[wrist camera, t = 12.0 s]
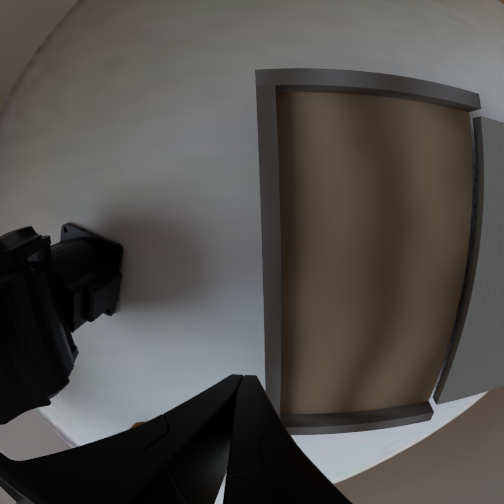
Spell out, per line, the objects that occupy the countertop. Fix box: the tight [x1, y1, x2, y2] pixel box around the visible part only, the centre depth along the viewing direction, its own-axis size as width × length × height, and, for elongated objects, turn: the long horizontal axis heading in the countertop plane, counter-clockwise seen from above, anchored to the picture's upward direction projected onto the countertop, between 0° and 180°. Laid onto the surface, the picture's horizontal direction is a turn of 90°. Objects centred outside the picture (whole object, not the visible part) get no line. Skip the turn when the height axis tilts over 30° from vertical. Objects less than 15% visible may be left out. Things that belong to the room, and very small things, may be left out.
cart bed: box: [255, 68, 481, 435], centre depth 18 cm, size 14×25×4 cm, turn 2°
